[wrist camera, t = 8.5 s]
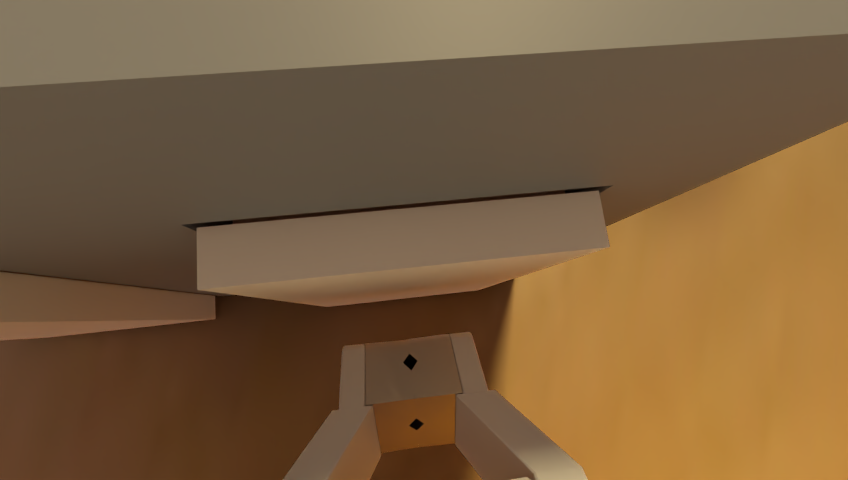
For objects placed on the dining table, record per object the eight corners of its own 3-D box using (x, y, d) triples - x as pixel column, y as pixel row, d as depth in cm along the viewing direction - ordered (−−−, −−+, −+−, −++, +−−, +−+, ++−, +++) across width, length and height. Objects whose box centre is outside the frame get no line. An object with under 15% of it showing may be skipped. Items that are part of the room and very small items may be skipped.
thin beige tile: (215, 319, 14) (-136, 324, 5) (48, 337, 14) (-694, 382, 4) (209, 1, 16) (-40, -413, 7) (65, 8, 16) (-404, -425, 7)
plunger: (477, 290, 15) (609, 247, 6) (326, 307, 14) (197, 289, 5) (437, -10, 17) (483, -399, 8) (305, -4, 17) (187, -408, 7)
